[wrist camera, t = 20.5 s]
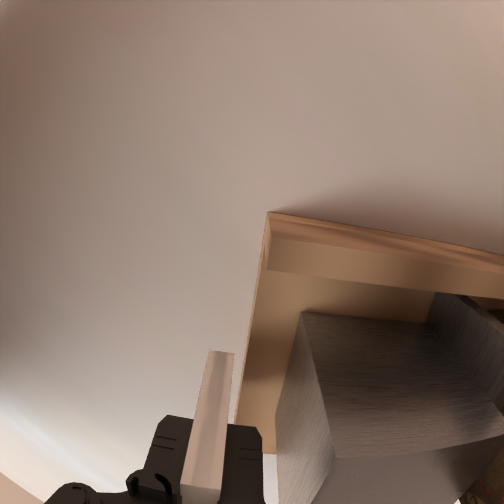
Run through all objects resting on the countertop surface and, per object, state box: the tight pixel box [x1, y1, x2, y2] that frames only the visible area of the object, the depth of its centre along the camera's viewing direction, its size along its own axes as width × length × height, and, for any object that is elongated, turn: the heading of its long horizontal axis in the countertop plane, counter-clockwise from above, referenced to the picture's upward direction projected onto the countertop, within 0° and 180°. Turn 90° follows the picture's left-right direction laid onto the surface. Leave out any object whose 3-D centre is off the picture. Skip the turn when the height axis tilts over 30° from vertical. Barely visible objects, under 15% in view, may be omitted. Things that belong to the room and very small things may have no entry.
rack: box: [234, 212, 504, 454], centre depth 9 cm, size 23×13×14 cm, turn 82°
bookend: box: [275, 292, 504, 504], centre depth 10 cm, size 7×10×8 cm
